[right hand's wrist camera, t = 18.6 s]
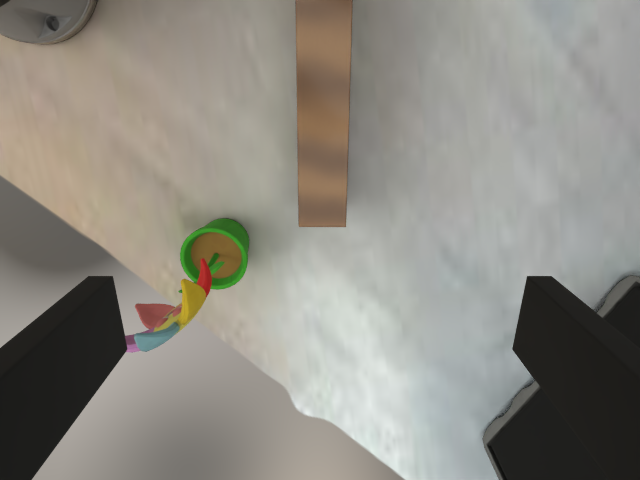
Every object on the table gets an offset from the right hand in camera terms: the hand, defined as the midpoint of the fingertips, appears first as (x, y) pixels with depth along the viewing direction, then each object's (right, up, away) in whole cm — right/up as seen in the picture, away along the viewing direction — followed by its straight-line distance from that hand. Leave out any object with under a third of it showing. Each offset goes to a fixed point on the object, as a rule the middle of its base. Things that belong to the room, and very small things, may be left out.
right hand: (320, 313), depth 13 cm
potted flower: (-13, +2, +40) cm, 42 cm away
